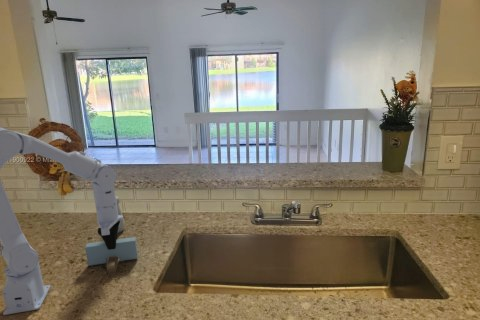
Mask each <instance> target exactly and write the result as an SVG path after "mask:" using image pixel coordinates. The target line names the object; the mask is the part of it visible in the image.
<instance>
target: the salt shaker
mask: <svg viewBox="0 0 480 320" xmlns="http://www.w3.org/2000/svg"><path fill="white" fill-rule="evenodd" d="M116 201H117V209H118V215H123V213H122V209H121V207H120V202H121V198H120V196H117V195H116ZM125 225H126V221H125V219H124V217H123V219H122V220H120V223H119V228H118V234H119V233H123V231H124V229H125Z"/></svg>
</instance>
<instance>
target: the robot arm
mask: <svg viewBox="0 0 480 320" xmlns="http://www.w3.org/2000/svg"><path fill="white" fill-rule="evenodd" d="M18 154H20V155H22V156H23V155H28V154H35V155H38V156H42V157H43V158H47V159H48V160H52V161H54V162H56V163H59V164H62V166H63V169H64V171H65V172H68V173H70V174H73V175H75V176H78V177H80V178H83V179H85V180H89V181H90V182H91V183H92V191H93V197H94V204H95V205H94V206H95V211H96V216H97V217H96V218H97V219H96V222H97V225H98V226H99V227H98V229H97V233H98V235H99V236H100V237H101V238H102V241H104V242H105V244H106V247H107V249H108V250H111V249H115V248H116V240H117V239H118V234H119V233H118V228H119V223H120V220H122V219H123V218H124V216H123V214H122V215H118V209H117V201H116V196H117V195H116V190H115V189H116V188H115V181H116V179H117V176H118V175H117V173H116V172H115V170H114V168H113V167H112V166H110V165H107V164H105V163H102V160H101V159H98V158H96V159H95V158H92V157H90V156H88V155H86V154H87V153H86V152H84V151H83V150H80V151H77V150H75V151H70V152H66V151H65V150H62V149H60V148H58V147H55V146H53V145H51V144H49V143H48V142H45V141H42V140H41V139H39V138H37V137H34V136H32V135H29V134H26V133H21V132H19V131H15V130H9V129H7V128H5V127H2V126H0V170H1V169H3V167H4V166H5V164H6V163H7V162H9V161H10V160H11V159H13V158H15V156H17V155H18ZM0 245H1V248H0V256H1V257H2V258H3V260H4V261H5V262H6V263H5V264H6V266H5V269H4V274H5V280H6V281H5V285H4V286H3V289H2V296H3V300H4V301H3V302H4V304H5V309H4V311H3V312H2V314H3V316H6V315H11V314H19V313H23V312H24V313H25V312H30V311H34V310H35V311H36V310H39V309H41V306H42V305H43V303H44V301H45V298H46V296H47V295H48V293H49V290H50V289H51V285H50V284H47V285H44V281H43V276H42V270H41V267H40V262H39V261H40V257H39V256H40V255H39V252H37V251H36V250H35V249H34V248H33V247H32V246H31V245H30V242H29V241H28V240H27V238H26V236H25V234H24V233H23V230H22V228H21V226H20V224H19V221H18V218H17V216H16V214H15V211H14V209H13V206H12V204H11V202H10V200H9V197H8V195H7V193H6V189H5V188H4V185H3V183H2V181H1V179H0Z"/></svg>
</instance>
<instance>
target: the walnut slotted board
mask: <svg viewBox="0 0 480 320" xmlns="http://www.w3.org/2000/svg"><path fill="white" fill-rule="evenodd" d="M118 264H119V257H116V256H113V257H109V258H108V261H107V263H106V270H107V271H106V272H107V276H113V275H117V274H116V273H117V269H118V266H119V265H118Z"/></svg>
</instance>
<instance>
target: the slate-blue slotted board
mask: <svg viewBox="0 0 480 320" xmlns="http://www.w3.org/2000/svg"><path fill="white" fill-rule="evenodd" d="M84 247H85V253H86V255H85V256H86V260H87V266H96V265H102V264H107V263H108V259H109V257H113V256H116V257H119V260H118V262H123V261H129V260H134V259H135V260H136V259H138V256H139V253H138V252H139V251H138V244H137V237H136V236H132V237H127V238H117V240H116V248H115V249H111V250H108V249H107V247H106V244H105V242H104V240H102V241H95V242H87V243H86V245H85V246H84Z"/></svg>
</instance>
